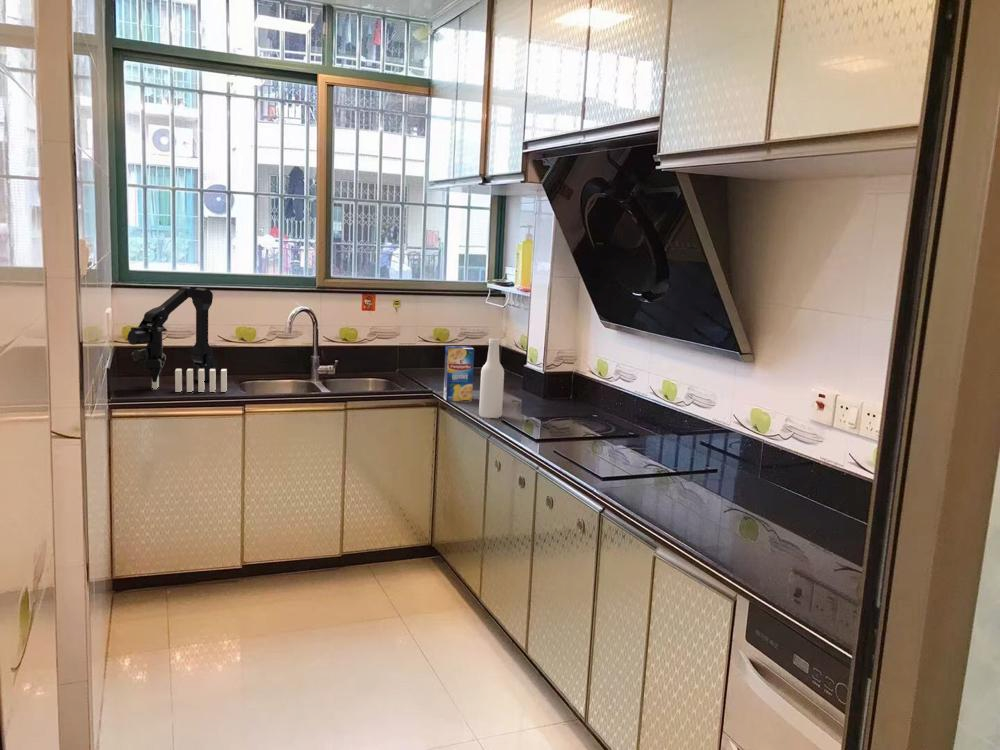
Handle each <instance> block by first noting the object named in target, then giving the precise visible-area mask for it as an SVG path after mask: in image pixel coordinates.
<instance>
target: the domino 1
mask: <svg viewBox="0 0 1000 750" xmlns="http://www.w3.org/2000/svg"><path fill="white" fill-rule="evenodd" d="M158 387H160V375H158V378H157V381H156V382H153V380H152V379H151V389H152V388H153V389H152V390H158V389H159V388H158ZM157 388H158V389H157Z"/></svg>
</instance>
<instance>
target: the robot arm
mask: <svg viewBox="0 0 1000 750" xmlns="http://www.w3.org/2000/svg"><path fill="white" fill-rule="evenodd" d="M213 298H214V294H213V291H211V290H210V289H208V288H201V287H197V288H191V287H189V286H187V287H186V286H181V287H180V288H178V290H177V291H176V292H175V293H173V294H172V295H171V297H169V298H167V299H166V300H165V301H164V302H162V304H160V305H159V306H157V307H153V308H151V309H150V310H148V311H146V312H145V313H144V315H143V317H142V320H141V321H140V323H139V325H138V326H137V327H134V326H133V327H132V326H131V327H130V331H129V332H128V334H127V341H128V343H129V344H130V345H131V346H132V345H133V346H136V345H145V344H146V346H145V348H143V349H140V350H139V349H135V350H134V351H133V352H132V353H131V358H132V359H133V361H134V362H137V361H139V360H141V359H144V358H145V360H144V361H143V367H144V368H147V369H148V370H149V373H150V375H151V376H150V377H151V381H152V380H153V382H156V381H157V378H158V375H159V376H160V375H161V372H162V370H163V368H164V365H165V363H166V360H167V355H166V354H165V353H164V352H163V348H164V344H163V332H167V331H168V329H167V328H165V326H164V324H165V323H166V322H167V321H168V319H169V316H170V314H171V313H172V312H174V311H175V310H176V309H178V308H179V306H181V304H183V303H184V302H186V300H188V299H191V301H192V305H193V306H194V309H195V343H194V345H193V346H190V357H191V360H192V361H193V363H194V366H195V367H196V368H197V369H196V378H195V379H196V381H198V370H199V369H204V381H207V382H210V369H215V368H217V367H218V364H219V362H218V361H217V359H216V358H215V357H213V350H212V348H211V346H210V344H209V310H210V308H211V306H212V304H213Z"/></svg>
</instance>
